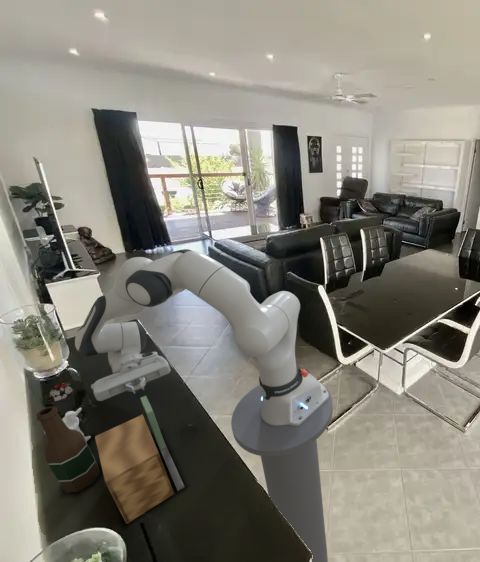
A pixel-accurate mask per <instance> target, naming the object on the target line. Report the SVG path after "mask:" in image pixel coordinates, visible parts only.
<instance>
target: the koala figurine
mask: <svg viewBox="0 0 480 562" xmlns="http://www.w3.org/2000/svg"><path fill="white" fill-rule="evenodd" d="M82 409H83V408H82V407H79V408H77V410H76V411H74V410H72V411H69V412H67V413H64V416H63V417H62V418H61V419H62V420H63V422H64V423H65V425H66V426H67V427H68V428H69V429H72V430H77V431H78V432H80V433H82V435H83V436H84V438H85V440H86V442H87V443H88V441H89V440H90V439H91V438H92V436H91V435H87V436H85V433H84V432H83V431H82V430H81V428H80V426H79V424H80V420H79V419H78V417H76V416H77V415H78V413H81V412H82ZM43 432H44V434H45V431H44V430H43Z"/></svg>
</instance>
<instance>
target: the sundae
mask: <svg viewBox="0 0 480 562" xmlns="http://www.w3.org/2000/svg"><path fill="white" fill-rule="evenodd" d="M63 379H64V377H60V378H59V381H58V383H57V384H55V385H54V387H53V388H52V389H50V392H49V395H44V397H45V403H46V404H51V405H52V407H54V406H55V407H56V408H57V410H58V413H60V414H66V413H67V412H69V411H73V410H74V408H75V407H76V400H75V396H74V393H75V391H76V388H74V387H71V386H68V385H67V384H66V383H63ZM60 382H61V385H60ZM76 417H78V419H79V421H80V420H81V419H82V418H83V417H84V414H83V413H82V412H79V413H78V415H77V416H76Z"/></svg>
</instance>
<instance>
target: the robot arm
mask: <svg viewBox="0 0 480 562" xmlns="http://www.w3.org/2000/svg"><path fill="white" fill-rule="evenodd" d="M185 290H187V291H189V292H190V293H192V294H193V295H194V296H196V297H197V298H199V299H200V300H202V302H204V303H206V304H208V305H209V306H211V308H213V309H214V310H216V311H218V312H219V313H220V314H221V315H222V316H223V317H224V318H225V319H226V320H227V321H228V323H229V324H230V326H231V327H232V329H233V332H234V341H235V344H236V346H237V348H238V349H239V350H240V351H241V352H242V353H243V354H244V355H247V356H248V357H253V358H256V362H257V367H258V373H259V374H258V375H259V377H258V383H259V385H260V391H261V394H262V398H261V400H262V409H261V417H262V419H263V420H264V421H265V422H266V423H268V424H270V425H274V426H283V425H292V426H298V425H300V424H301V423H302V422H303V421H304V420H306V419H307V418H308V417H309V416H310V415H311V414H312V413H313V412H314V411H316V410H317V409H318V408H319V407H320V406H321V405H322V404H323V403H324V402H325V401H327V400H328V398H329V394H328V391H329V390H328V391H327V389H328V388H327V387H326V386H325V385H324V384H323V383H321V382H320V381H319V380H318V379H317V378H316V377H315V376H314V375H312V374H311V373H310V371H309V369H308V368H303V369H302V367H301V366H300V365H298V364H297V359H296V341H297V332H298V331H297V329H298V319H299V314H300V310H301V303H300V300H299V298H298V297H297V296H296V295H295V294H294V293H292V292H290V291H287V290H281V291H278V292H275V293H273V294H272V295H269V296H268V297H266V299H265V300H263V302H261V303H259V302H258V301H257V300H256V298H254V296H253V295H252V293H251V285H250V283H249V282H248V280H247V279H245V278H243V277H242V276H240V275H239V274H237V273H236V272H234V271H232V270H231V269H230V268H228V267H227V266H226V265H224V264H222V263H221V262H219V261H217V260H216V259H214V258H212V257H210V256H208V255H206V254H204V253H201V252H199V251H196V250H191V249H189V248H184V249H178V250H175V251H171V252H170V253H169V254H167V255H165V256H162V257H160V258H157V259H154V260H152V259H150V258H147V257H144V256H135V257H131V258H129V259H127V260H125V261H124V262H123V264H122V265H121V267H120V268H119V270H118V273H117V275H116V277H115V281H114V285H113V287H112V288H111V289H110V290H109V291H108V292H106V293H104V294H102V295H101V296H98V297H97V299H96V300H95V301H94V302H93V305H91V308H90V309H89V311H88V313H87V316H86V318H85V320H84V322H83V324H82V326H81V327H79V329H78V330H77V332H76V335H75V338H74V346H75V349H76V352H77V353H79V354H82V355H83V356H86V357H92V356H96V355H100V354H106V353H107V361H108V364H109V366H110V369H111V372H112V374H109V375H106V376H104V377H102V378H98V379H97V380H96V381H95V382H94V383H92V384H91V385H90V389H91V390H92V391H93V396H94V398H95V400H96V401H98V402H103V401H105V400H108V399H110V398H112V397H115V396H118V395H120V394H122V393H125V392H132V393H133V395H135V394H137V393H140V392H143V391H145V386H146V385H147V383H149V382H152V381H155V380H156V379H159V378H161V377H164V376H165V375H168V374H170V373H171V366H170V363H169V362H168V360H166V358H164V357H163V356H162V355H159V354H158V352H157V351H151V352H145V353H142V352H144V350H145V348H146V346H147V342H148V337H147V331H146V330H145V329H146V328H145V327H144V326H143V325H142V324H141V323H140V322H139V321H136V320H135V321H122V322H115V323H106V322H108V321H110V320H113V319H116V318H120V317H125V316H131V315H135V314H136V315H137V314H139V313H143V312H145V311H147V310H148V309H150V308H152V307H156V306H159V305H162V304H163V303H165V302H167V301H168V300H169V299H171V298H173V297H174V296H177V295H178V294H179V293H182V292H183V291H185ZM322 384H323V385H324V386H325V387H326V388H327V389H326V388H325V387H324V386H323V385H322ZM299 419H300V420H299Z"/></svg>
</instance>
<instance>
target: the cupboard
mask: <svg viewBox="0 0 480 562" xmlns="http://www.w3.org/2000/svg"><path fill="white" fill-rule="evenodd" d="M153 437H154V438H153ZM154 439H155V440H154ZM94 440H95V444H96V449H97V452H98V457H99V461H100V466H101V470H102V475H103V480H104V483H105V485H106V488H107V489H108V490H109V493H110V495H111V496H112V499H113V500H114V502H115V505H116V507H117V508H118V511H119V512H120V514H121V516H122V518H123V520H124V522H125V524H127V525H128V524H129V523H130V522H132V521H134V520H135V519H137V518H138V517H140V516H142V515H143V514H145V513H146V512H147V511H150V510H152V509H153V508H154V507H156V506H158V505H159V504H161V503H162V502H164V501H166V500H167V499H169V498H170V497H171V496H173V495H175V492H174V489H173V488H172V484H171V482H170V478H169V475H170V477H171V480H172V481H173V482H172V483H173V484H174V487H175V489H176V491H177V492H180V491H182V490H183V489H184V488H185V485H184V482H183V481H182V478H181V476H180V474H179V472H178V469H177V467H176V465H175V463H174V460H173V458H172V456H171V454H170V452H169V449H168V447H167V446H166V447H165V448H163V449H162V450H160V447H159V445H158V443H157V440H156V438H155V436H154V433H153V436H152V434H151V431H150V428H149V426H148V424H147V421H146V418H145V417H144V414H141V415H138V416H136V417H134V418H132V419H129V420H127V421H124V422H123V423H121V424H119V425H116V426H115V427H112V428H110V429H108V430H106V431H103V432H101V433H100V434H97V435H95V436H94ZM155 442H156V443H155ZM164 443H165V441H164ZM156 444H157V446H158V447H157V446H156ZM165 444H166V443H165ZM158 448H159V450H158ZM159 451H160V453H159ZM160 454H161V455H162V458H163V461H164V462H165V466H166V467H167V470H168V472H169V475H168V474H167V470H166V468H165V466H164V463H163V461H162V458H161V455H160Z"/></svg>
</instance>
